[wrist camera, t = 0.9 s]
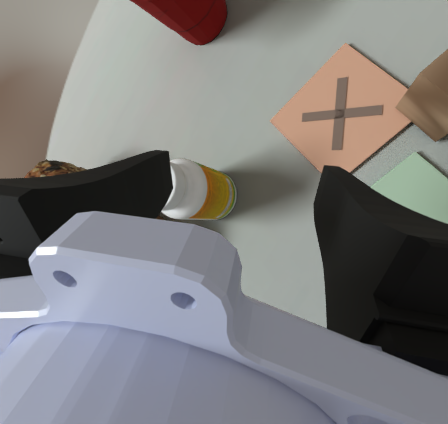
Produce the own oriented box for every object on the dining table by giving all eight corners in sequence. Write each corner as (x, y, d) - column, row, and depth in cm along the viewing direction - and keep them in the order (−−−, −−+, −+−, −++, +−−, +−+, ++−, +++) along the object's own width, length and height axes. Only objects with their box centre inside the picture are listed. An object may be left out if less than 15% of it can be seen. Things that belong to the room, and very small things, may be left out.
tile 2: (521, 242, 17) (525, 243, 17) (400, 311, 20) (401, 313, 19) (414, 152, 20) (415, 151, 19) (322, 224, 23) (321, 224, 22)
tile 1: (428, 107, 20) (430, 104, 19) (333, 186, 22) (333, 185, 22) (345, 45, 22) (345, 41, 22) (270, 122, 25) (269, 120, 25)
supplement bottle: (236, 168, 27) (182, 142, 18) (239, 218, 26) (185, 216, 18) (194, 175, 29) (129, 156, 21) (197, 221, 29) (131, 221, 20)
